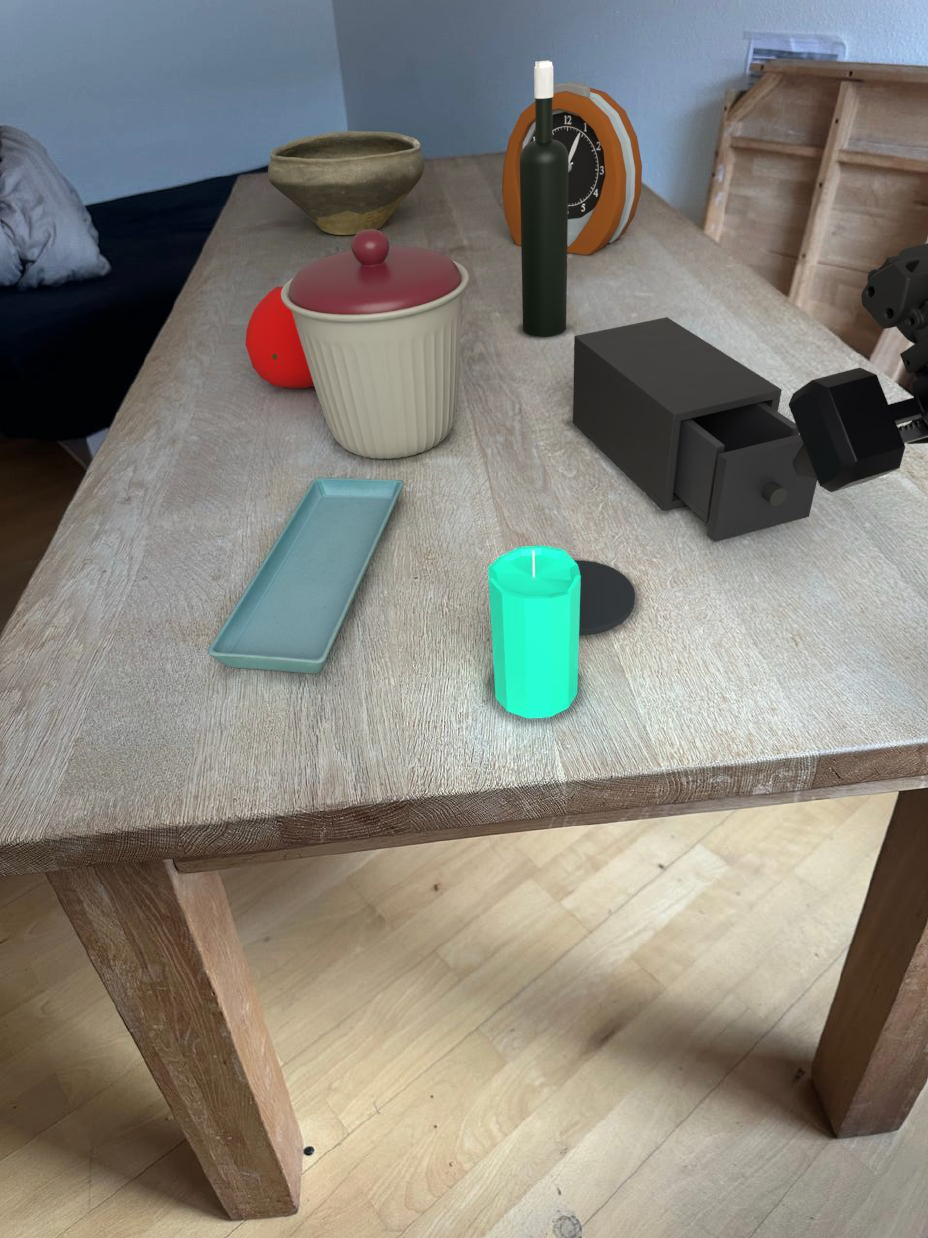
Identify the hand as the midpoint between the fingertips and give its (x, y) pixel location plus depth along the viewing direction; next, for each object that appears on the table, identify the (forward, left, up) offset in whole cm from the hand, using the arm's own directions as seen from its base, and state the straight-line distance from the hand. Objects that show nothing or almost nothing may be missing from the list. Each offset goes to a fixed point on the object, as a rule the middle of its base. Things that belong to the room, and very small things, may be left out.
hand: (852, 452), depth 58 cm
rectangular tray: (+28, +29, -13) cm, 42 cm away
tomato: (+66, +11, -13) cm, 68 cm away
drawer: (+16, -6, -12) cm, 21 cm away
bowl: (+123, -26, -13) cm, 126 cm away
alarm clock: (+87, -47, -13) cm, 99 cm away
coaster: (+12, +14, -13) cm, 22 cm away
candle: (+6, +23, -13) cm, 27 cm away
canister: (+46, +11, -13) cm, 49 cm away
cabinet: (+25, -8, -13) cm, 29 cm away
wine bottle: (+59, -20, -13) cm, 63 cm away
